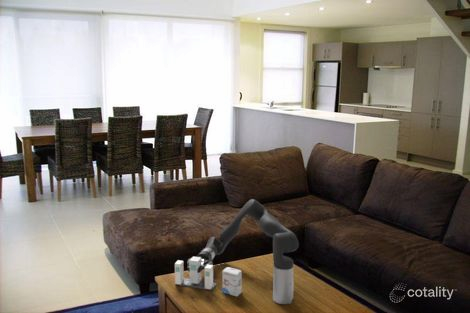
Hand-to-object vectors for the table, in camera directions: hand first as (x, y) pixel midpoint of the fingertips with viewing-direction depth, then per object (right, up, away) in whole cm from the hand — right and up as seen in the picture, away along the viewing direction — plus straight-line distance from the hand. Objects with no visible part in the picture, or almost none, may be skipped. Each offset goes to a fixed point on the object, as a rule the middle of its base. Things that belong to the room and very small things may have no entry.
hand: (193, 270), depth 216 cm
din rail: (+1, -8, +4) cm, 9 cm away
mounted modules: (0, -8, +2) cm, 8 cm away
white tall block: (+1, -6, +4) cm, 8 cm away
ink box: (+19, -10, -3) cm, 22 cm away
